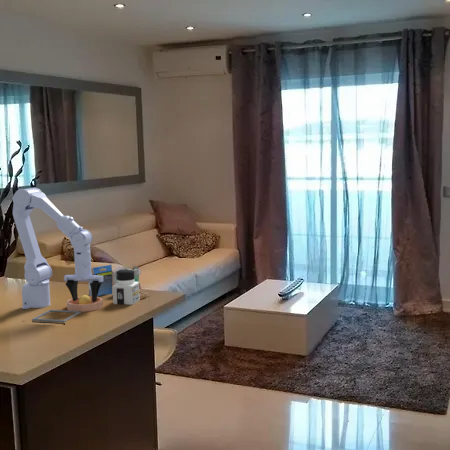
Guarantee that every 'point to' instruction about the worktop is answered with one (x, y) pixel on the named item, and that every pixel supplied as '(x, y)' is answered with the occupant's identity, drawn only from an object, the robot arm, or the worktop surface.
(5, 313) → the worktop surface
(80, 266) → the robot arm
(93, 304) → the bowl
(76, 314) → the tray
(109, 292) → the label tape box
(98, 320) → the worktop surface
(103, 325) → the worktop surface
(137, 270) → the food container
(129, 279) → the container
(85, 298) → the ball
